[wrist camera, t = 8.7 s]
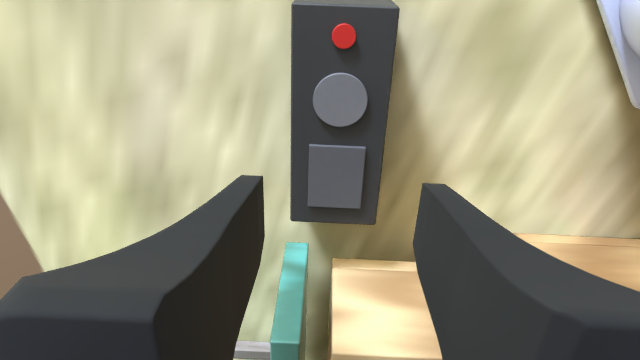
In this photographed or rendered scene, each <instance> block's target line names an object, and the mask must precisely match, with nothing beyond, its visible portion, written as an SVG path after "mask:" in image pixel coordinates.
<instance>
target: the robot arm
mask: <svg viewBox="0 0 640 360" xmlns="http://www.w3.org/2000/svg"><path fill="white" fill-rule="evenodd" d="M596 2H597V5H598V8H599V11H600V14H601V16H602V19H603V22H604V25H605V28H606V31H607V34H608V37H609V40H610V43H611V46H612V49H613V51H614V54H615V57H616V60H617V63H618V66H619V69H620V72H621V75H622V78H623V81H624V84H625V87H626V89H627V92H628V95H629V98H630V101H631V104H632V105H633V106H634V107H636V108H638V109H640V0H596ZM264 237H265V233H264V197H263V176H248V175H241V176H240V177H238V178H237V179H236V180H234V181H233V182H232V183H231V184H230V185H228V186H227V187H226V188H225V189H223V190H222V191H221V192H220V193H218V194H217V195H216V196H214V197H213V198H212V199H210V200H209V201H208V202H207V203H205V204H204V205H202V206H201V207H199V208H198V209H196V210H195V211H193V212H192V213H190V214H189V215H187V216H186V217H185V218H183V219H181V220H180V221H178V222H176V223H175V224H173V225H171V226H170V227H168V228H166V229H164V230H162V231H160V232H158V233H156V234H154V235H152V236H150V237H148V238H146V239H143V240H141V241H139V242H136V243H134V244H132V245H129V246H127V247H125V248H122V249H120V250H118V251H115V252H112V253H109V254H106V255H104V256H101V257H98V258H95V259H91V260H88V261H85V262H82V263H78V264H75V265H71V266H68V267H64V268H60V269H56V270H51V271H47V272H43V273H40V274H35V275H31V276H26V277H22V278H21V279H20V280H19V281H18V282H17V283H16V284H15V285H14V286H13V287H12V288H11V289H10V291H9V292H8V293H7V294H6V295H5V296H4V297H3V298H2V299H1V300H0V360H233V357H234V352H235V347H236V342H237V338H238V335H239V331H240V327H241V324H242V321H243V318H244V314H245V311H246V308H247V305H248V302H249V298H250V295H251V292H252V289H253V286H254V282H255V279H256V276H257V273H258V269H259V266H260V261H261V255H262V249H263V243H264ZM413 247H414V254H415V261H416V267H417V273H418V276H419V280H420V283H421V286H422V290H423V293H424V296H425V300H426V303H427V306H428V309H429V312H430V316H431V319H432V322H433V325H434V329H435V332H436V335H437V339H438V342H439V346H440V350H441V355H442V360H640V292H639V291H636V290H634V289H631V288H628V287H625V286H622V285H620V284H617V283H614V282H611V281H608V280H606V279H603V278H601V277H598V276H596V275H593V274H591V273H588V272H586V271H584V270H582V269H579V268H577V267H575V266H573V265H570V264H568V263H566V262H564V261H562V260H560V259H557V258H555V257H553V256H551V255H549V254H548V253H546V252H544V251H542V250H540V249H538V248H537V247H535V246H533V245H531V244H529V243H527V242H526V241H524V240H522V239H521V238H519V237H518V236H516V235H514V234H513V233H511V232H510V231H508V230H507V229H505V228H504V227H502V226H501V225H499V224H498V223H496V222H495V221H494V220H492V219H491V218H489V217H488V216H487V215H485V214H484V213H483V212H481V211H480V210H479V209H477V208H476V207H475V206H473V205H472V204H471V203H469V202H468V201H467V200H466V199H464V198H463V197H462V196H460V195H459V194H458V193H456V192H455V191H454V190H452V189H451V188H450V187H448V186H447V185H445V184H428V183H423V184H422V190H421V197H420V203H419V209H418V215H417V221H416V227H415V233H414V240H413Z"/></svg>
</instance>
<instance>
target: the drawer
mask: <svg viewBox="0 0 640 360" xmlns="http://www.w3.org/2000/svg"><path fill="white" fill-rule="evenodd" d="M307 279H308V243H295V242H287V243H286V247H285V253H284V259H283V265H282V271H281V277H280V283H279V290H278V296H277V302H276V308H275V314H274V320H273V326H272V333H271V339H270V342H254V341H237V342H236V347H235V352H234V357H233V358H236V359H256V360H305V350H306V314H307ZM326 360H442V355H441V350H440V346H439V342H438V339H437V335H436V332H435V329H434V325H433V322H432V319H431V316H430V312H429V309H428V306H427V303H426V300H425V296H424V293H423V290H422V286H421V283H420V280H419V276H418V273H417V267H416V262H407V261H385V260H363V259H341V258H333V259H332V272H331V288H330V305H329V322H328V338H327V355H326Z"/></svg>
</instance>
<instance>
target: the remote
mask: <svg viewBox="0 0 640 360" xmlns="http://www.w3.org/2000/svg"><path fill="white" fill-rule="evenodd" d="M399 10H400V9H399V7H398V6H397V5H396V4H395V3H394V2H393V1H391V0H294V1H293V3H292V19H291V216H290V219H291V221H300V222H322V223H345V224H367V225H375V223H376V215H377V206H378V197H379V188H380V179H381V171H382V162H383V153H384V144H385V135H386V126H387V117H388V108H389V99H390V90H391V81H392V72H393V63H394V54H395V46H396V37H397V28H398V19H399Z"/></svg>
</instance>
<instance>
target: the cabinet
mask: <svg viewBox="0 0 640 360" xmlns="http://www.w3.org/2000/svg"><path fill="white" fill-rule="evenodd" d="M513 234H514V235H516V236H518V237H519V238H521V239H522V240H524V241H526V242H527V243H529V244H531V245H533V246H535V247H537V248H538V249H540V250H542V251H544V252H546V253H548V254H549V255H551V256H553V257H555V258H557V259H560V260H562V261H564V262H566V263H568V264H570V265H573V266H575V267H577V268H579V269H582V270H584V271H586V272H588V273H591V274H593V275H596V276H598V277H601V278H603V279H606V280H608V281H611V282H614V283H617V284H620V285H622V286H625V287H628V288H631V289H634V290H636V291H639V292H640V239H626V238H604V237H582V236H560V235H538V234H516V233H513Z"/></svg>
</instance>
